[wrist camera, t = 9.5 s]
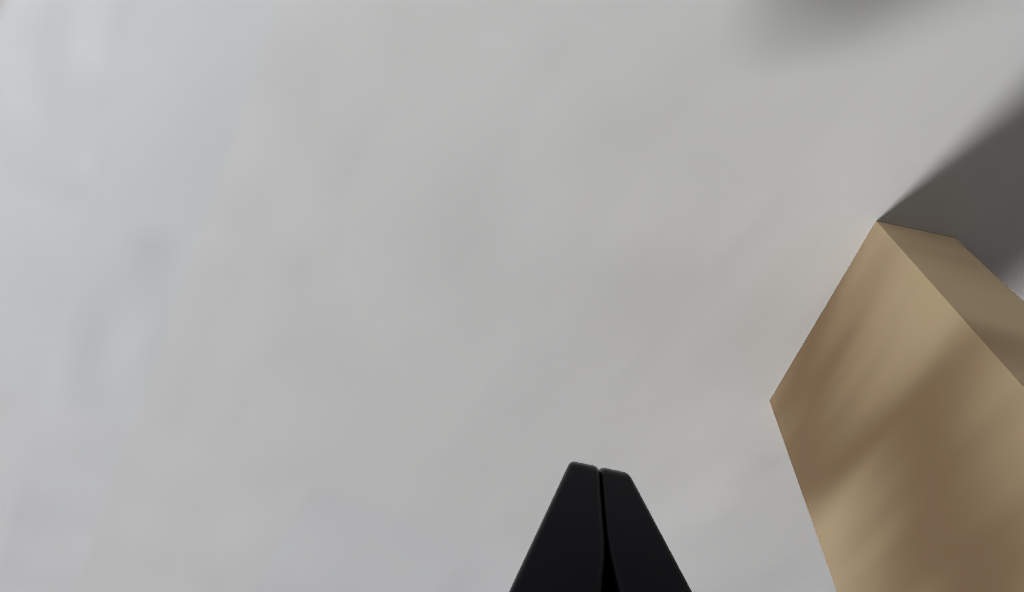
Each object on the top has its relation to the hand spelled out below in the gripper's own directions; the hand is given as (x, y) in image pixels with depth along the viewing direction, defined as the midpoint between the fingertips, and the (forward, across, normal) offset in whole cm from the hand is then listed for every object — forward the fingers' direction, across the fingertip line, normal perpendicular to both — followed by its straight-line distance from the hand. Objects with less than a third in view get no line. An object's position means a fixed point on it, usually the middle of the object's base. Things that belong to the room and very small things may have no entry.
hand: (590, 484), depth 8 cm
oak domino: (+6, -6, 0) cm, 8 cm away
